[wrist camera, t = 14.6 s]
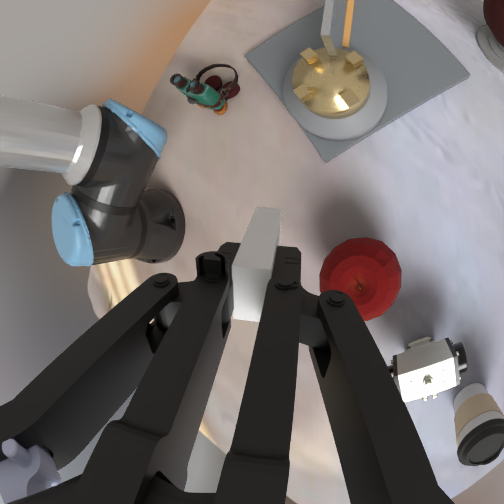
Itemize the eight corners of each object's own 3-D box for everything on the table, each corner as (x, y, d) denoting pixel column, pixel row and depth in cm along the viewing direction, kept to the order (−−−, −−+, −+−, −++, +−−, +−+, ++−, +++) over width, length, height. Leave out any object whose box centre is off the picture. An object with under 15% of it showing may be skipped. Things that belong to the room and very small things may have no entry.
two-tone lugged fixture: (366, 125, 34) (362, 101, 27) (292, 114, 38) (272, 92, 31) (374, -9, 29) (368, -39, 21) (315, -12, 33) (301, -40, 25)
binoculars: (226, 50, 36) (192, 99, 38) (251, 80, 46) (223, 123, 48) (190, 43, 39) (159, 86, 41) (217, 70, 49) (191, 108, 51)
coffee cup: (440, 399, 36) (450, 455, 22) (480, 368, 32) (506, 417, 19) (458, 425, 34) (468, 480, 20) (496, 397, 30) (518, 446, 17)
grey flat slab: (326, 162, 42) (320, 156, 38) (248, 59, 45) (237, 48, 41) (468, 78, 29) (474, 65, 25) (371, -11, 32) (368, -26, 28)
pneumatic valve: (383, 345, 40) (382, 383, 29) (450, 323, 35) (469, 354, 24) (390, 373, 40) (389, 416, 29) (454, 352, 35) (471, 390, 24)
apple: (379, 222, 39) (380, 222, 29) (408, 287, 38) (418, 309, 27) (317, 255, 44) (296, 266, 33) (345, 316, 43) (333, 345, 32)
